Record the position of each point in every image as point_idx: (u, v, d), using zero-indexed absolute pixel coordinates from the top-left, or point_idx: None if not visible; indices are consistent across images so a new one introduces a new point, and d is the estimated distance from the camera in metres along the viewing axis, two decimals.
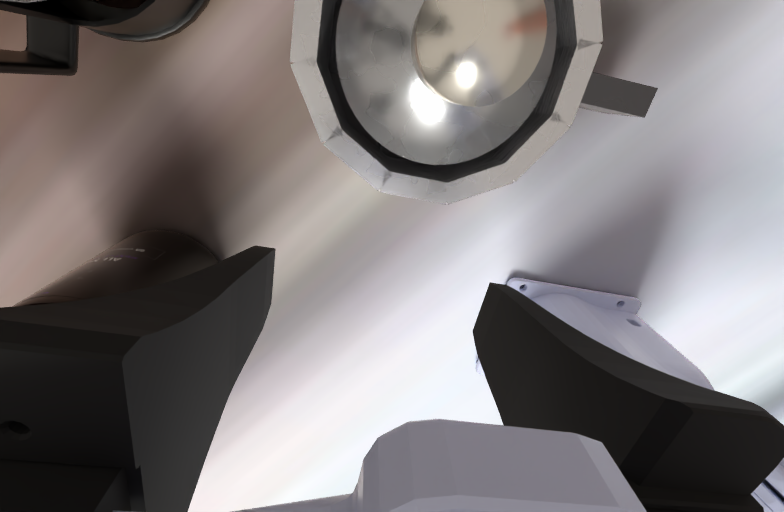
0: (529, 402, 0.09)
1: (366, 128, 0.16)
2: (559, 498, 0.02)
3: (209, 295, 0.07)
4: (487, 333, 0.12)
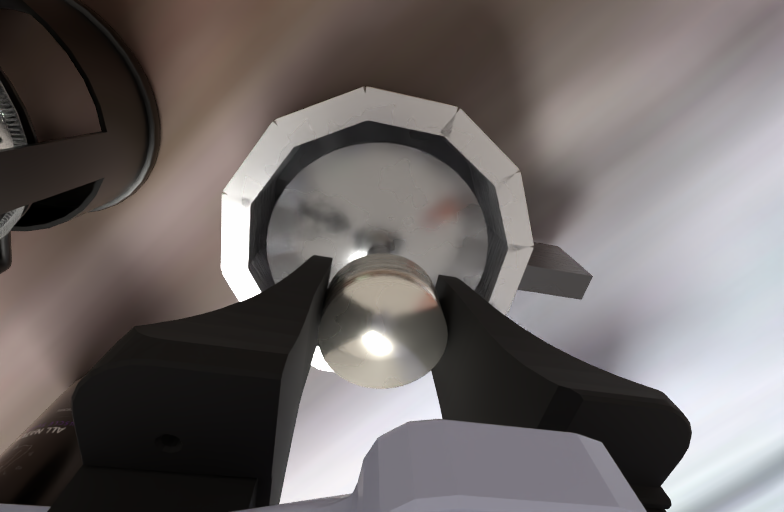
0: (461, 394, 0.09)
1: None
2: (559, 498, 0.02)
3: (300, 308, 0.07)
4: None
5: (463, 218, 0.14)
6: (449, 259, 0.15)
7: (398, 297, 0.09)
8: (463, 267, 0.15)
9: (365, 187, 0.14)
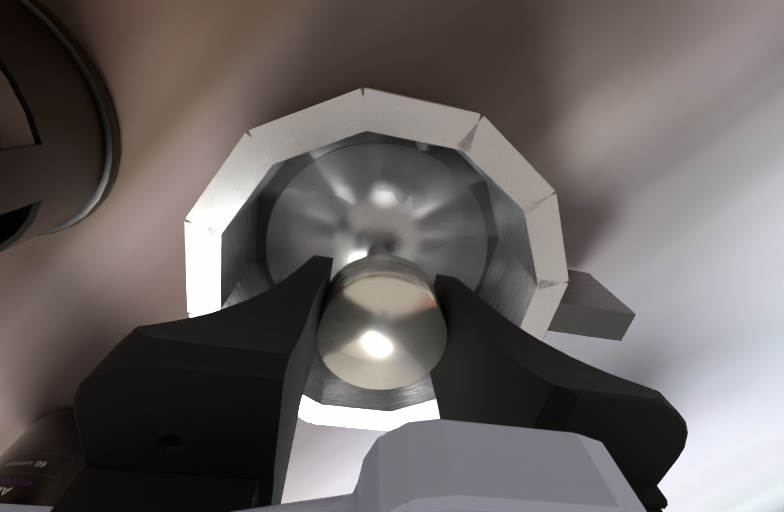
0: (458, 394, 0.09)
1: None
2: (559, 498, 0.02)
3: (302, 308, 0.07)
4: None
5: (463, 219, 0.14)
6: (449, 260, 0.15)
7: (397, 298, 0.09)
8: (463, 268, 0.15)
9: (365, 187, 0.13)
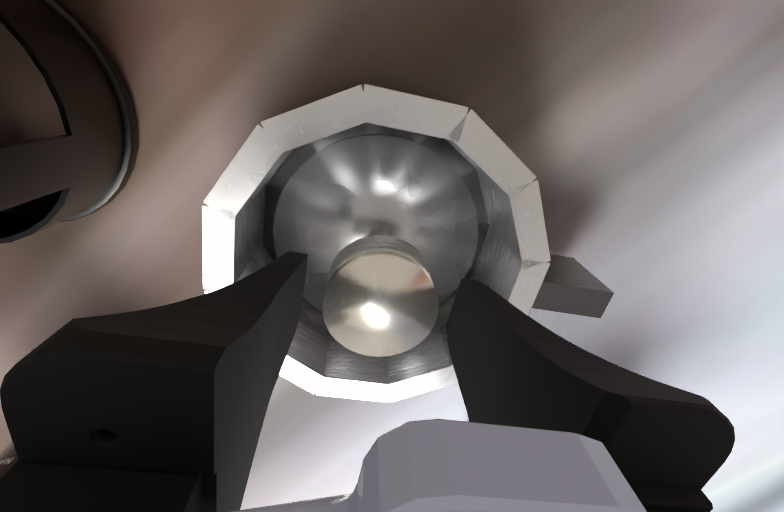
0: (491, 398, 0.09)
1: (307, 300, 0.17)
2: (559, 498, 0.02)
3: (262, 302, 0.07)
4: (457, 329, 0.12)
5: (455, 206, 0.15)
6: (443, 245, 0.16)
7: (394, 271, 0.11)
8: (455, 252, 0.16)
9: (365, 176, 0.15)
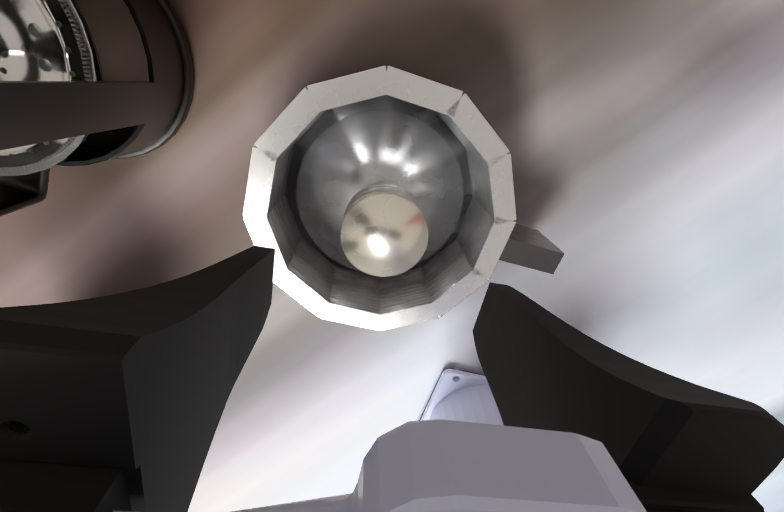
0: (529, 402, 0.09)
1: (317, 244, 0.20)
2: (559, 499, 0.02)
3: (209, 295, 0.07)
4: (487, 333, 0.12)
5: (446, 175, 0.19)
6: (433, 207, 0.20)
7: (397, 206, 0.14)
8: (443, 215, 0.20)
9: (376, 143, 0.18)
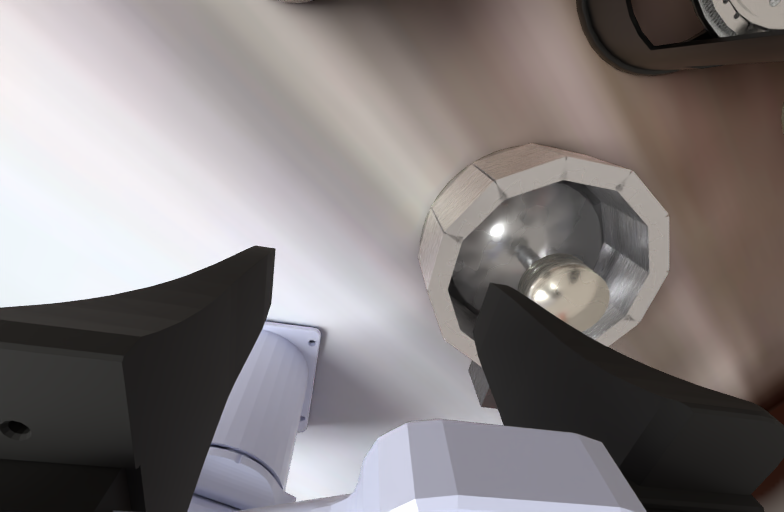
0: (529, 402, 0.09)
1: None
2: (559, 498, 0.02)
3: (209, 295, 0.07)
4: (487, 333, 0.12)
5: None
6: None
7: (597, 311, 0.17)
8: None
9: (574, 247, 0.21)
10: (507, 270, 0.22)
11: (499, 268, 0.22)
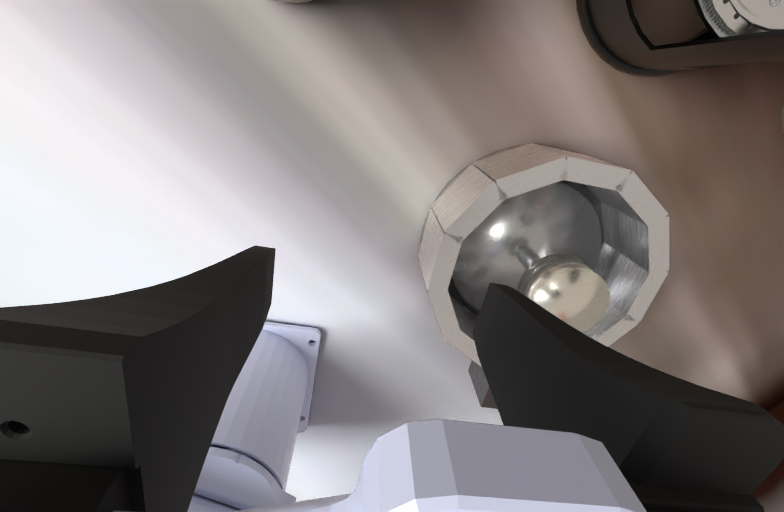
0: (529, 402, 0.09)
1: None
2: (559, 498, 0.02)
3: (209, 295, 0.07)
4: (487, 333, 0.12)
5: None
6: None
7: (597, 311, 0.17)
8: None
9: (574, 247, 0.21)
10: (507, 270, 0.22)
11: (499, 268, 0.22)
